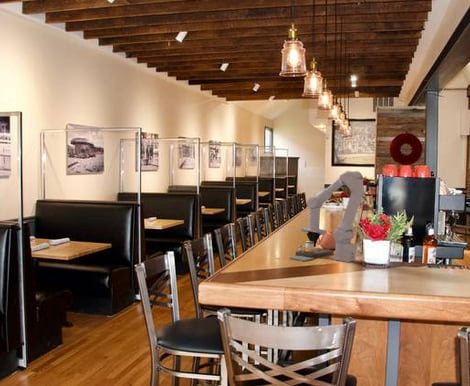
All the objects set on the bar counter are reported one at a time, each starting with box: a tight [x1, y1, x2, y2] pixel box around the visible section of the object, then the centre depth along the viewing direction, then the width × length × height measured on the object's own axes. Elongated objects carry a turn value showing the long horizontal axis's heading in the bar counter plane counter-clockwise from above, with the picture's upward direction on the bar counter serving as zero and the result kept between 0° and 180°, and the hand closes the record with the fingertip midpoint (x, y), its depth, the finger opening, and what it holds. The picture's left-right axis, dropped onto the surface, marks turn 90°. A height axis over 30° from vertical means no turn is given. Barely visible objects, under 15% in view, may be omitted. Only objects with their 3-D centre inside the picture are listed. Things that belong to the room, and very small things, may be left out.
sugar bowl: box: [316, 230, 336, 250], centre depth 278 cm, size 12×14×10 cm
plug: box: [303, 240, 315, 253], centre depth 253 cm, size 6×6×8 cm
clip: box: [298, 244, 306, 252], centre depth 255 cm, size 2×10×3 cm, turn 136°
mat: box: [288, 255, 315, 262], centre depth 243 cm, size 9×8×1 cm
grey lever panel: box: [295, 247, 335, 259], centre depth 256 cm, size 10×20×2 cm, turn 136°
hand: (313, 246), depth 256 cm, fingers closed
